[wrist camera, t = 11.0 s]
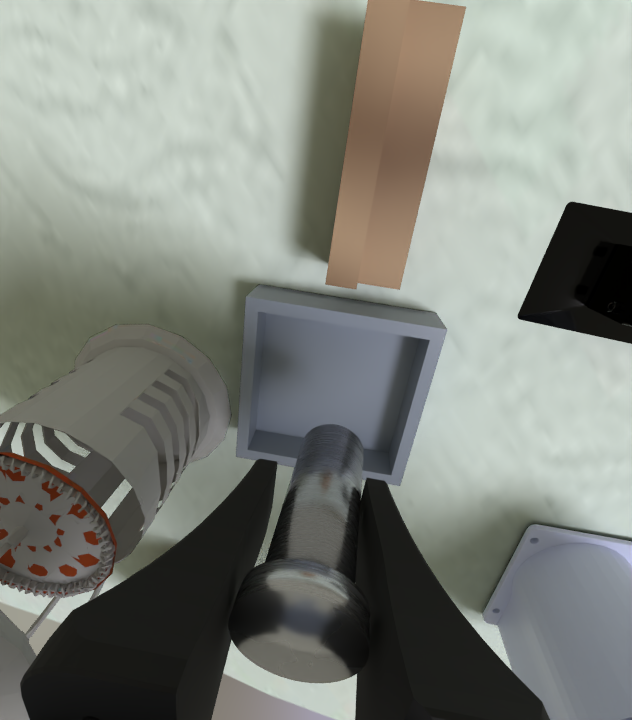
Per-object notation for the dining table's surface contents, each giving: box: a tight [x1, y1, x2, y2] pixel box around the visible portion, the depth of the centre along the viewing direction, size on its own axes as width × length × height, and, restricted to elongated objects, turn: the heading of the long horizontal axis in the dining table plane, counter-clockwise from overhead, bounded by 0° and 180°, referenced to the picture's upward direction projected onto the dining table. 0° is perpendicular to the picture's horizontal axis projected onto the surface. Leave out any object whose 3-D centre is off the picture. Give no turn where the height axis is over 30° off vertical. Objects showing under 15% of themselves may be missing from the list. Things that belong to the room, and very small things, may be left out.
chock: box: [325, 0, 466, 290], centre depth 14 cm, size 9×3×4 cm, turn 172°
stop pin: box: [228, 424, 370, 683], centre depth 11 cm, size 3×3×7 cm
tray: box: [236, 284, 447, 486], centre depth 20 cm, size 9×9×2 cm
